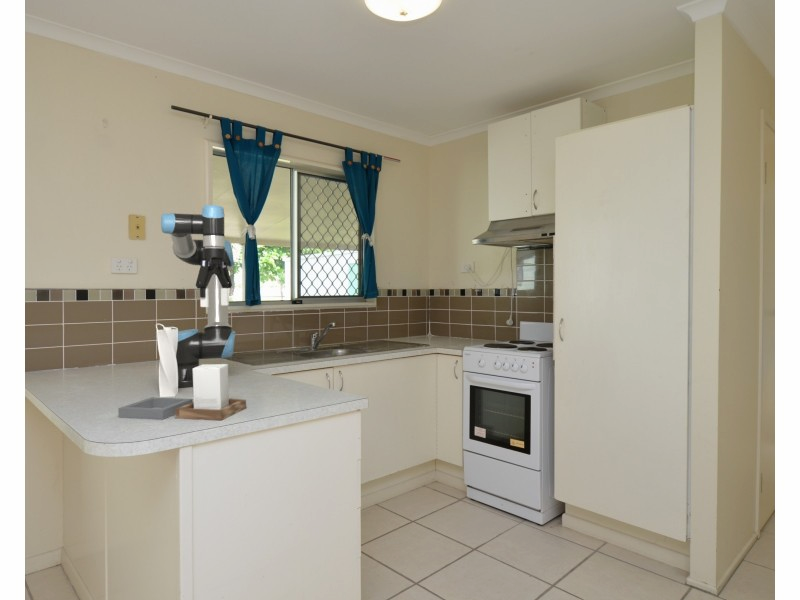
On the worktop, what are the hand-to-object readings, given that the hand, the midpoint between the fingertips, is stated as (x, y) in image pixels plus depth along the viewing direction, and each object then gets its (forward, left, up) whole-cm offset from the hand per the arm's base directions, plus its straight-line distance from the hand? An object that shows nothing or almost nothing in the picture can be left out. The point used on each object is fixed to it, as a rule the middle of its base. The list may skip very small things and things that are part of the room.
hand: (215, 306), depth 186 cm
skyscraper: (-4, -23, -35) cm, 42 cm away
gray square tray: (+20, -10, -35) cm, 41 cm away
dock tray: (+18, +9, -35) cm, 40 cm away
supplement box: (+18, +9, -34) cm, 40 cm away
